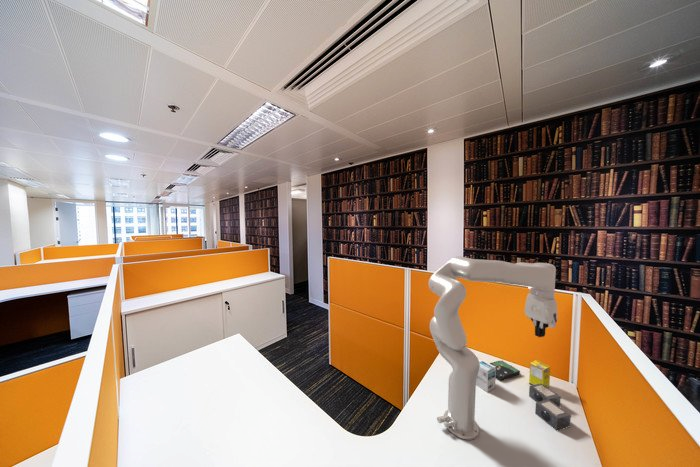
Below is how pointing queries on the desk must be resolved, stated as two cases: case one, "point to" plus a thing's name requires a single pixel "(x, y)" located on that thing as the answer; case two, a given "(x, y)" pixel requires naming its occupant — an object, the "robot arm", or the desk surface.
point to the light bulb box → (486, 376)
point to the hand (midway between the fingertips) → (539, 335)
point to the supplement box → (539, 373)
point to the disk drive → (504, 370)
